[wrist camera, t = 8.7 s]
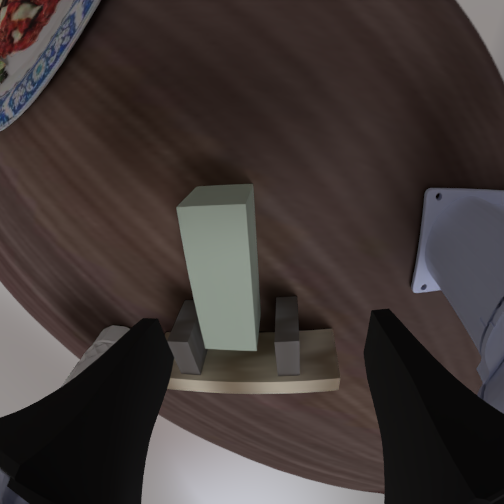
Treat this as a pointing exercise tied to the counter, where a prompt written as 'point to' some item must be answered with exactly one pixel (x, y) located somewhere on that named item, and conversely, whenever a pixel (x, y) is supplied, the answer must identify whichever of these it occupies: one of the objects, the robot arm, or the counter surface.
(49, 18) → the ceramic plate
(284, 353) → the wooden base
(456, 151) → the counter surface
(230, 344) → the block
